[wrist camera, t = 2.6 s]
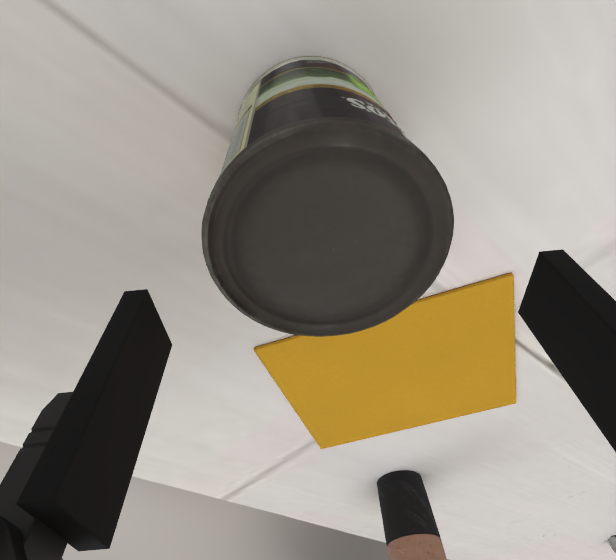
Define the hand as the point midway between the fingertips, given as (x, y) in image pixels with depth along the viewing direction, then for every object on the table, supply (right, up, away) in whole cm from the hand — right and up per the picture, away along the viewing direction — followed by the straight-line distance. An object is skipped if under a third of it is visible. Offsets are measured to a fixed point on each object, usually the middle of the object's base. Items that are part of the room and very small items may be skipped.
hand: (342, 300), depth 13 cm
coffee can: (-1, +11, +14) cm, 17 cm away
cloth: (+9, -10, +31) cm, 34 cm away
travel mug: (+13, -31, +48) cm, 59 cm away
